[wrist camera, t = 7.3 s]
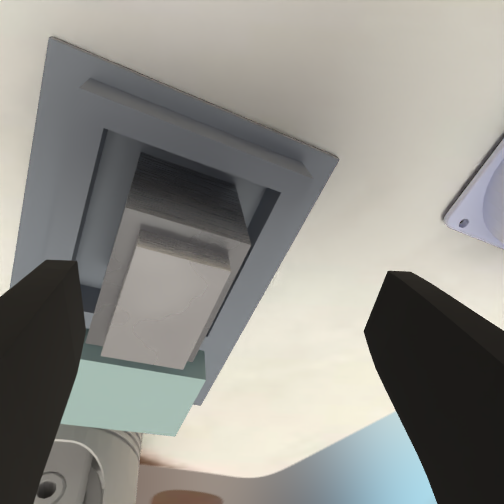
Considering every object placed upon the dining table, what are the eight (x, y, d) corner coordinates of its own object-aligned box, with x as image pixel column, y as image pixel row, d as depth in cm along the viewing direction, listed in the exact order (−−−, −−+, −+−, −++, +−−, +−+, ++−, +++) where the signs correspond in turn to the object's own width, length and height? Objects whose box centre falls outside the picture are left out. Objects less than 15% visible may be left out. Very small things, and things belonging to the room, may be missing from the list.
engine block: (235, 184, 17) (255, 262, 12) (190, 286, 20) (193, 382, 15) (140, 151, 16) (120, 223, 11) (107, 265, 19) (79, 364, 14)
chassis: (336, 156, 18) (365, 187, 15) (200, 400, 26) (202, 449, 23) (52, 36, 14) (17, 47, 11) (-2, 370, 22) (-29, 426, 19)
